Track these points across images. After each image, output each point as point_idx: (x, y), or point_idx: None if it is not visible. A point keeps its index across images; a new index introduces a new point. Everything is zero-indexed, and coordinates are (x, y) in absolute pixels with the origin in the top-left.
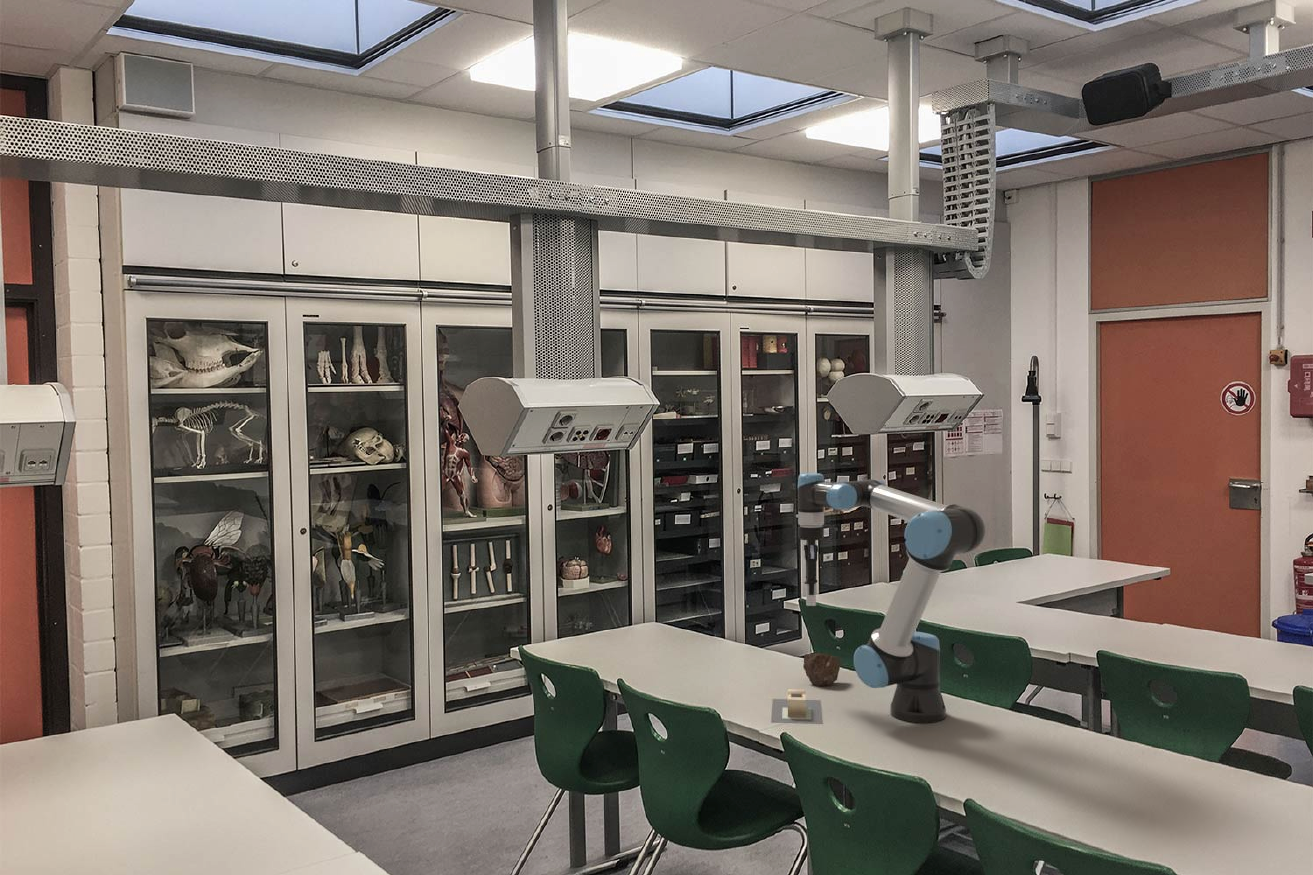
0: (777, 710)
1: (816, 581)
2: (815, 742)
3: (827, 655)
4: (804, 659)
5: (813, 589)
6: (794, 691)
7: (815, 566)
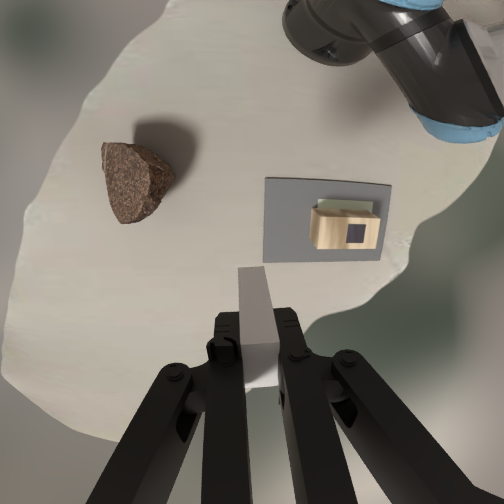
0: (327, 253)
1: (353, 354)
2: (443, 204)
3: (150, 171)
4: (135, 222)
5: (300, 330)
6: (331, 237)
7: (437, 448)
